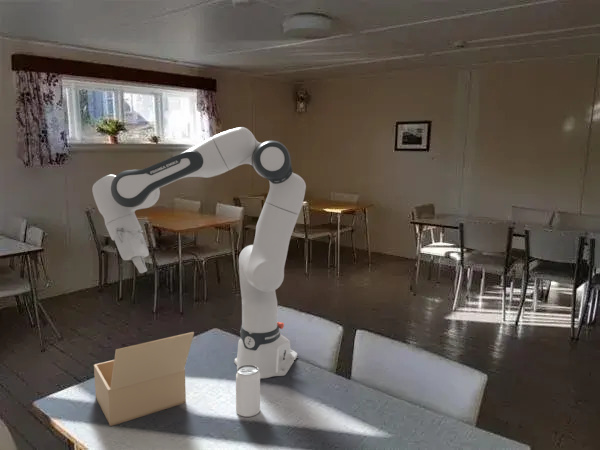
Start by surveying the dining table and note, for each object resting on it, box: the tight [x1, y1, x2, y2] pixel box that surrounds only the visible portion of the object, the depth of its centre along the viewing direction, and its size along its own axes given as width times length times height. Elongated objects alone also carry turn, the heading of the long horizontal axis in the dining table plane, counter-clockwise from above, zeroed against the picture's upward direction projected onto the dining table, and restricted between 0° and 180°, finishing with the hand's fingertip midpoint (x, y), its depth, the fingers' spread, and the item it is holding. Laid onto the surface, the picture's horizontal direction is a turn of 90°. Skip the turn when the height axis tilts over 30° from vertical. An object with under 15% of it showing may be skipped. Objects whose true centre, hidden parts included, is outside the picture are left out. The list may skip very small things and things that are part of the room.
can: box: [235, 365, 261, 418], centre depth 126 cm, size 6×6×12 cm
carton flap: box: [110, 331, 195, 391], centre depth 119 cm, size 16×19×1 cm
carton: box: [93, 359, 187, 427], centre depth 131 cm, size 16×20×10 cm
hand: (143, 272), depth 139 cm, fingers closed
